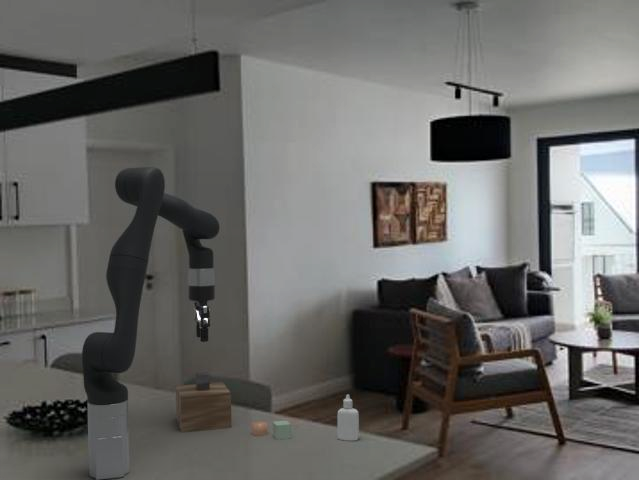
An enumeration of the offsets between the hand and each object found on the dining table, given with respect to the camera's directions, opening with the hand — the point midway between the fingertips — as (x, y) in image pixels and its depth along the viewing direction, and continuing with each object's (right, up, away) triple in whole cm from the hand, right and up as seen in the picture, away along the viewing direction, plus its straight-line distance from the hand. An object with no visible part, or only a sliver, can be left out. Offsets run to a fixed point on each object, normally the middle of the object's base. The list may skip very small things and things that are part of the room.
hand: (202, 339), depth 213 cm
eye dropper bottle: (+42, -25, -16) cm, 51 cm away
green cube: (+24, -25, -13) cm, 37 cm away
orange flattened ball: (+18, -25, -10) cm, 32 cm away
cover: (0, -25, +1) cm, 25 cm away
